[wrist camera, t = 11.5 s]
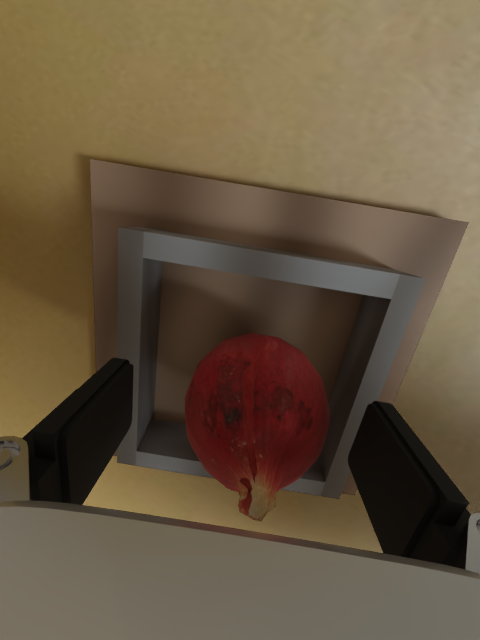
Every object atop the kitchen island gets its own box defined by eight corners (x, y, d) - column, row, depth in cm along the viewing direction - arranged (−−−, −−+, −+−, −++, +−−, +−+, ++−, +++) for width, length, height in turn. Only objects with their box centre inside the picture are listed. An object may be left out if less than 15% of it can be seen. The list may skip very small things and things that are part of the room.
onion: (187, 330, 14) (110, 446, 7) (292, 297, 13) (343, 389, 6) (224, 416, 16) (196, 588, 8) (319, 393, 15) (386, 561, 7)
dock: (452, 222, 13) (522, 220, 9) (349, 481, 18) (370, 537, 15) (102, 164, 13) (48, 141, 9) (106, 441, 18) (73, 488, 15)
